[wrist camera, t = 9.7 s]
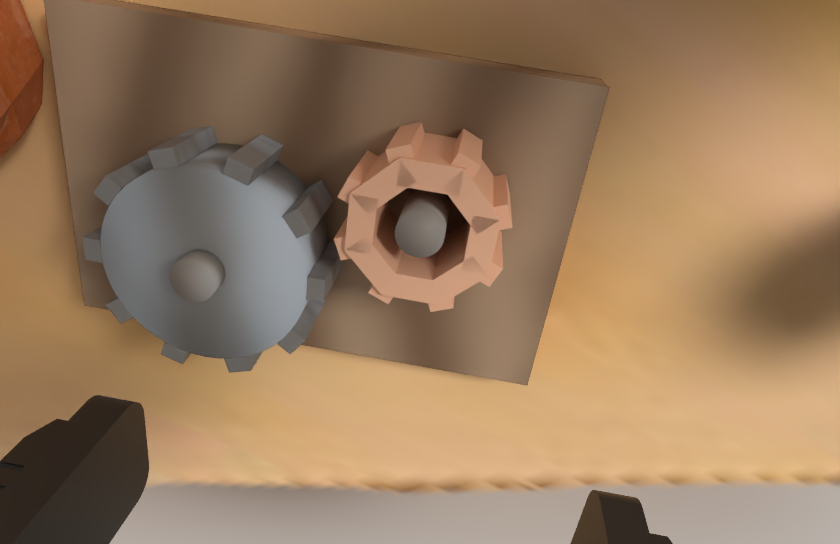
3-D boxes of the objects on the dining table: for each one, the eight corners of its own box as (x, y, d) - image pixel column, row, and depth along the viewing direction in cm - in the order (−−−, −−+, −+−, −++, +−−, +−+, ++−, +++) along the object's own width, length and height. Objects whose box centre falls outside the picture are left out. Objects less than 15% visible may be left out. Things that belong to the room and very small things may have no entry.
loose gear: (522, 137, 24) (527, 165, 20) (490, 278, 26) (490, 325, 23) (364, 110, 24) (341, 133, 20) (349, 253, 27) (327, 296, 23)
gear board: (600, 79, 24) (635, 111, 18) (525, 361, 31) (532, 451, 25) (75, -7, 25) (-51, -1, 19) (107, 286, 31) (20, 356, 26)
